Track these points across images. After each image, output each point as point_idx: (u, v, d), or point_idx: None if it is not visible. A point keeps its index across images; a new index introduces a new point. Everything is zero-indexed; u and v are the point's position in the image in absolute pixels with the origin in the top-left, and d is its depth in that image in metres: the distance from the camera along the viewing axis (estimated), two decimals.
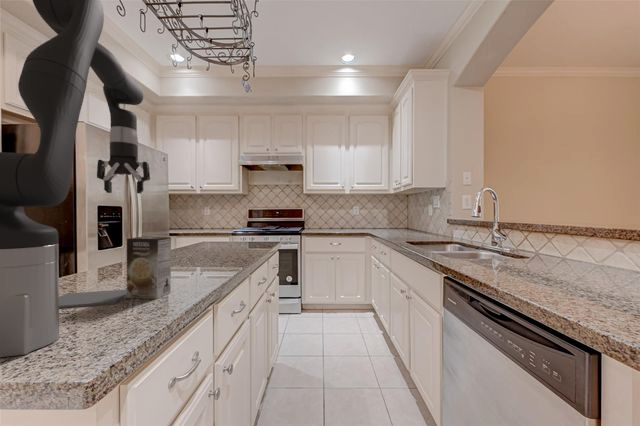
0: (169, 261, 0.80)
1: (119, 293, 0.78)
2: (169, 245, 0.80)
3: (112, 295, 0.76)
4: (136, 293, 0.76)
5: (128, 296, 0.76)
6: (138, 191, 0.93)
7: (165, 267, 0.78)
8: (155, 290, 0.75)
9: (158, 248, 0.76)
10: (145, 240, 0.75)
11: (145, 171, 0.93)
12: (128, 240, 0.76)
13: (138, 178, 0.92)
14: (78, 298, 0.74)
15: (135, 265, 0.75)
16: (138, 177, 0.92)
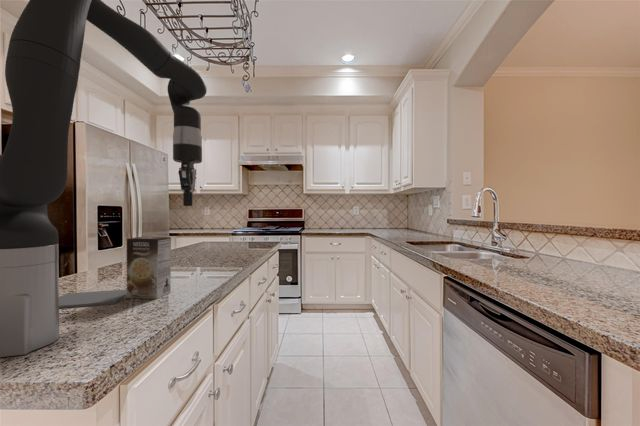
0: (169, 261, 0.80)
1: (119, 293, 0.78)
2: (169, 245, 0.80)
3: (112, 295, 0.76)
4: (136, 293, 0.76)
5: (128, 296, 0.76)
6: None
7: (165, 267, 0.78)
8: (155, 290, 0.75)
9: (158, 248, 0.76)
10: (145, 240, 0.75)
11: (194, 184, 0.85)
12: (128, 240, 0.76)
13: (192, 189, 0.82)
14: (78, 298, 0.74)
15: (135, 265, 0.75)
16: (193, 188, 0.82)
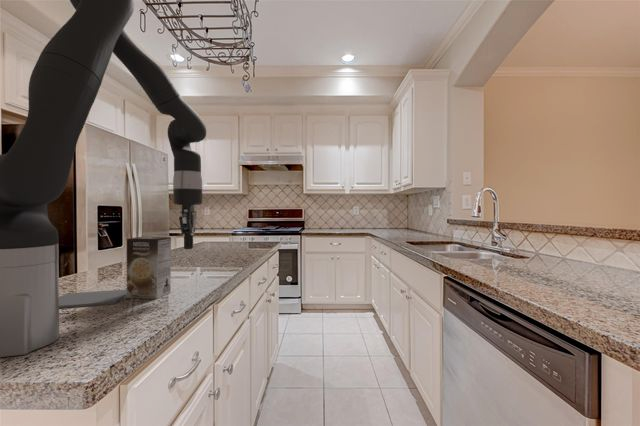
0: (169, 261, 0.80)
1: (119, 293, 0.78)
2: (169, 245, 0.80)
3: (112, 295, 0.76)
4: (136, 293, 0.76)
5: (128, 296, 0.76)
6: None
7: (165, 267, 0.78)
8: (155, 290, 0.75)
9: (158, 248, 0.75)
10: (145, 240, 0.75)
11: None
12: (128, 240, 0.76)
13: (193, 231, 0.82)
14: (78, 298, 0.74)
15: (135, 265, 0.75)
16: (193, 230, 0.82)
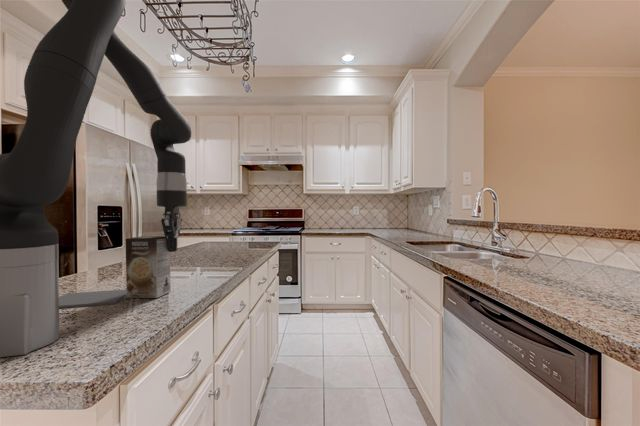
0: (168, 260, 0.80)
1: (119, 293, 0.78)
2: None
3: (112, 295, 0.76)
4: (136, 292, 0.76)
5: (128, 296, 0.76)
6: None
7: (165, 267, 0.78)
8: (155, 289, 0.75)
9: (157, 247, 0.76)
10: (144, 239, 0.75)
11: (180, 227, 0.84)
12: (127, 240, 0.76)
13: (177, 234, 0.81)
14: (78, 298, 0.74)
15: (134, 265, 0.75)
16: (177, 232, 0.81)
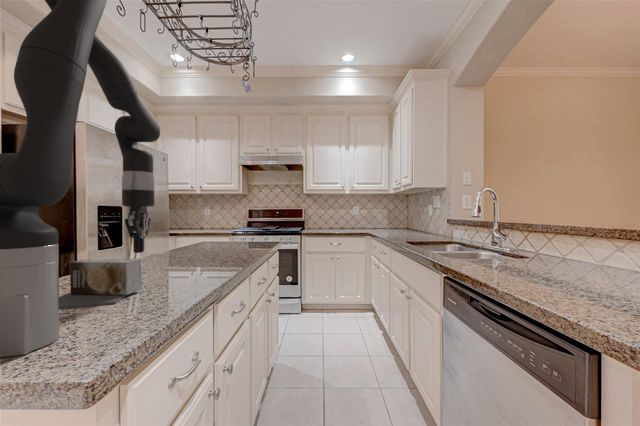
0: (109, 259, 0.82)
1: None
2: (94, 259, 0.82)
3: (112, 295, 0.76)
4: (121, 283, 0.76)
5: (125, 292, 0.76)
6: (143, 250, 0.78)
7: (109, 259, 0.80)
8: (117, 263, 0.76)
9: (80, 261, 0.77)
10: (71, 274, 0.77)
11: (148, 227, 0.82)
12: (72, 292, 0.77)
13: (144, 234, 0.79)
14: (78, 298, 0.74)
15: (94, 285, 0.76)
16: (145, 233, 0.79)
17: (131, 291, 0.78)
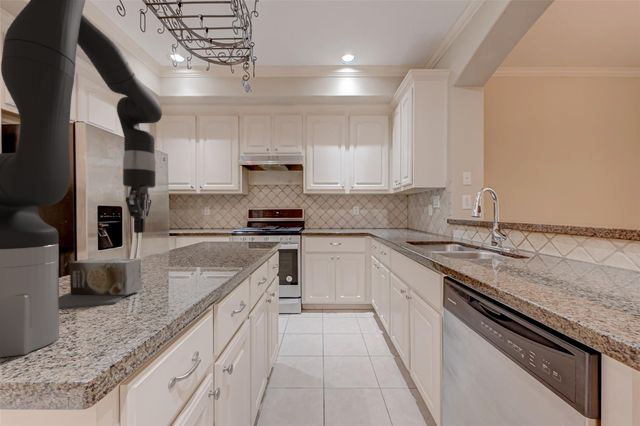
0: (109, 259, 0.82)
1: None
2: (94, 259, 0.82)
3: (112, 295, 0.76)
4: (121, 284, 0.76)
5: (125, 292, 0.76)
6: (144, 230, 0.78)
7: (109, 260, 0.80)
8: (117, 263, 0.76)
9: (80, 262, 0.77)
10: (71, 274, 0.77)
11: (148, 209, 0.82)
12: (72, 292, 0.77)
13: (145, 215, 0.79)
14: (78, 298, 0.74)
15: (94, 285, 0.76)
16: (145, 214, 0.79)
17: (131, 291, 0.78)
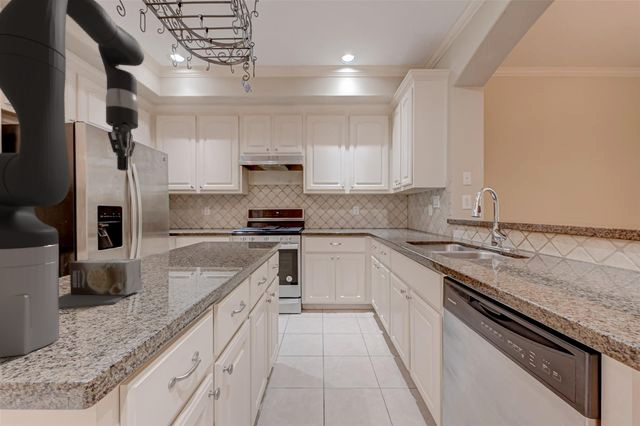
0: (109, 259, 0.82)
1: None
2: (94, 259, 0.82)
3: (112, 295, 0.76)
4: (121, 283, 0.76)
5: (125, 292, 0.76)
6: (127, 168, 0.82)
7: (109, 260, 0.80)
8: (117, 263, 0.76)
9: (80, 262, 0.77)
10: (71, 274, 0.77)
11: (132, 150, 0.85)
12: (72, 292, 0.77)
13: (128, 154, 0.82)
14: (78, 298, 0.74)
15: (94, 285, 0.76)
16: (128, 153, 0.82)
17: (131, 291, 0.78)
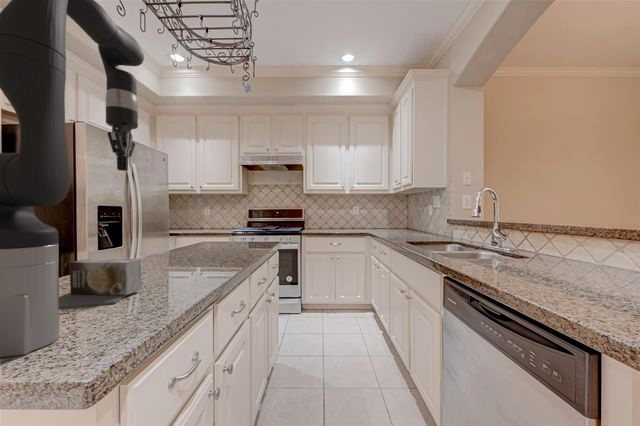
0: (109, 259, 0.82)
1: None
2: (94, 259, 0.82)
3: (112, 295, 0.76)
4: (121, 283, 0.76)
5: (125, 292, 0.76)
6: (127, 168, 0.82)
7: (109, 260, 0.80)
8: (117, 263, 0.76)
9: (80, 262, 0.77)
10: (71, 274, 0.77)
11: (132, 150, 0.85)
12: (72, 292, 0.77)
13: (128, 154, 0.82)
14: (78, 298, 0.74)
15: (94, 285, 0.76)
16: (128, 153, 0.82)
17: (131, 291, 0.78)
